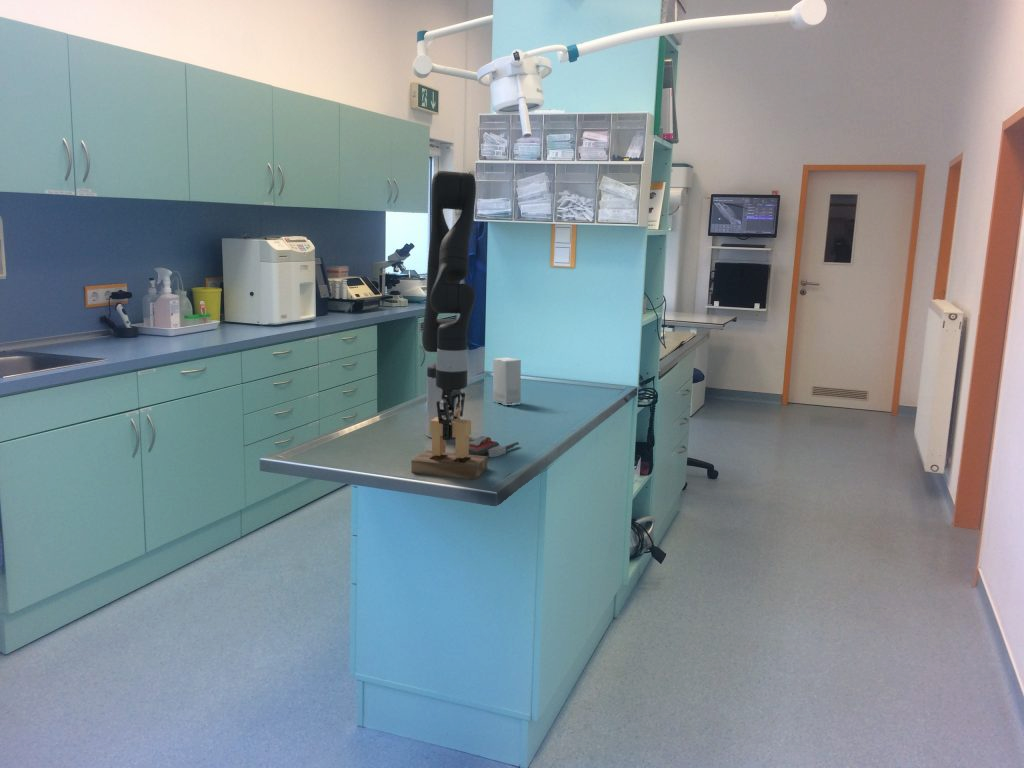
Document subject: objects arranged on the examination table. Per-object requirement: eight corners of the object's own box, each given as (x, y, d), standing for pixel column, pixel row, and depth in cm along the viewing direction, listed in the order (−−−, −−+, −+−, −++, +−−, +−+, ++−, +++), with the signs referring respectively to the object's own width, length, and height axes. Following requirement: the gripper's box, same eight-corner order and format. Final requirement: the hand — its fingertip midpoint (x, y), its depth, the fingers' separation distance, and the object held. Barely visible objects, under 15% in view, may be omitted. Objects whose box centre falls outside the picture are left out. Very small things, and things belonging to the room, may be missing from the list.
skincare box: (521, 405, 277) (522, 359, 274) (504, 406, 273) (506, 361, 270) (507, 400, 284) (508, 356, 281) (491, 402, 280) (492, 357, 277)
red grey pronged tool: (480, 465, 204) (521, 448, 221) (480, 448, 203) (521, 433, 220) (452, 459, 209) (494, 443, 226) (452, 442, 208) (494, 428, 225)
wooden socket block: (426, 461, 204) (427, 450, 204) (487, 468, 200) (487, 456, 199) (411, 472, 195) (411, 460, 194) (474, 479, 190) (474, 467, 190)
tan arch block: (435, 450, 200) (436, 417, 198) (470, 454, 197) (471, 420, 196) (429, 454, 196) (430, 420, 194) (465, 458, 193) (465, 423, 192)
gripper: (456, 373, 185) (455, 446, 188) (476, 364, 198) (474, 432, 201) (425, 370, 187) (425, 443, 190) (447, 362, 200) (446, 430, 203)
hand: (450, 437), depth 196 cm, fingers closed on tan arch block, 4 cm apart
